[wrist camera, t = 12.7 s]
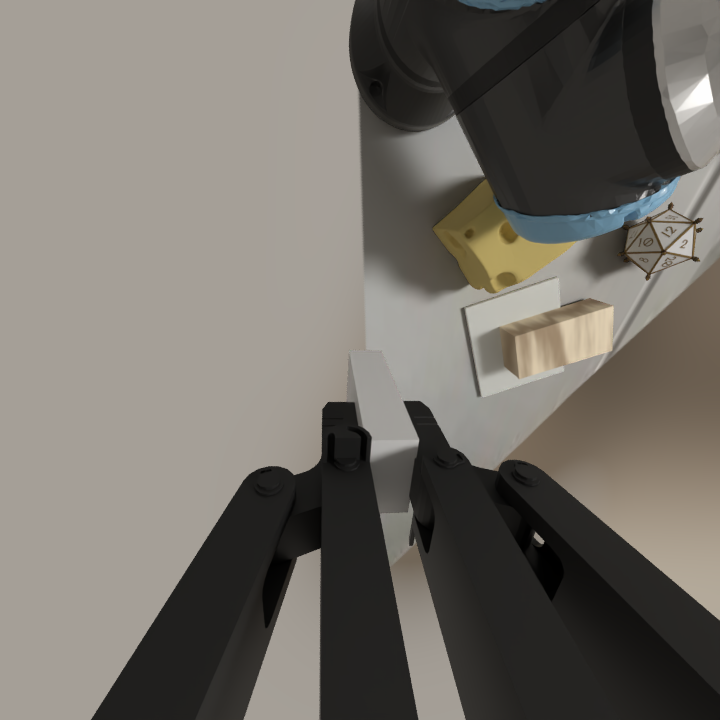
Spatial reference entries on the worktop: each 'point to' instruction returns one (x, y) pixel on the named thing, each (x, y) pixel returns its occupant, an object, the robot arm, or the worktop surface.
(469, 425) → the worktop surface
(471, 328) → the rubber mat
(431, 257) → the worktop surface
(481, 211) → the cheese
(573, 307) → the maple block
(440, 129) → the worktop surface
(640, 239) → the game die
